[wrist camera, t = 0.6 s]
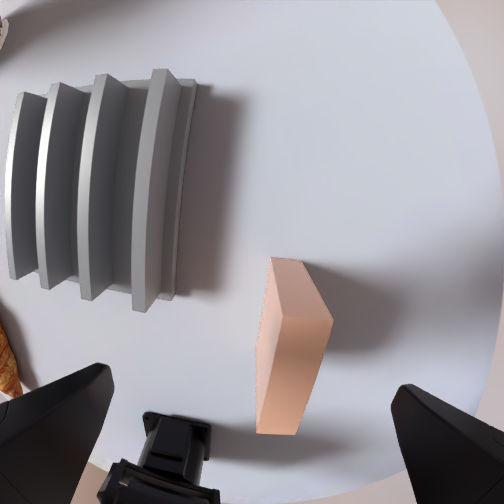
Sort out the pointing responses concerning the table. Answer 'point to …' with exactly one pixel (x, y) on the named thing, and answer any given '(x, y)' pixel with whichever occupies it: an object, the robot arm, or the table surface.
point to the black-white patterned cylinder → (3, 30)
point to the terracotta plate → (288, 346)
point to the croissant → (8, 369)
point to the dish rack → (99, 185)
